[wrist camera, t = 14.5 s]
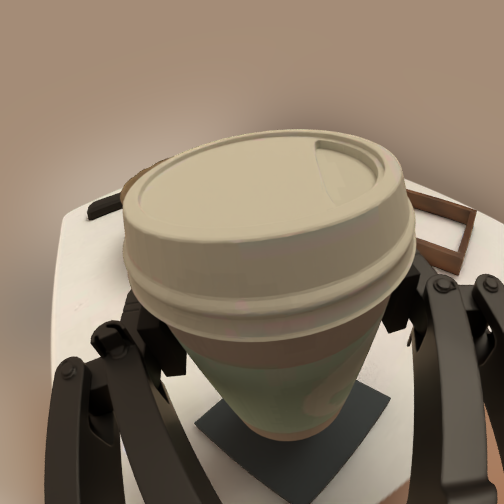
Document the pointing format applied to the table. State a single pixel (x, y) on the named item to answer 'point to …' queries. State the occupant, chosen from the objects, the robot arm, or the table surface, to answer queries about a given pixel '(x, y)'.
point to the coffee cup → (273, 266)
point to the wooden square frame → (450, 210)
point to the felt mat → (296, 445)
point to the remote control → (104, 206)
